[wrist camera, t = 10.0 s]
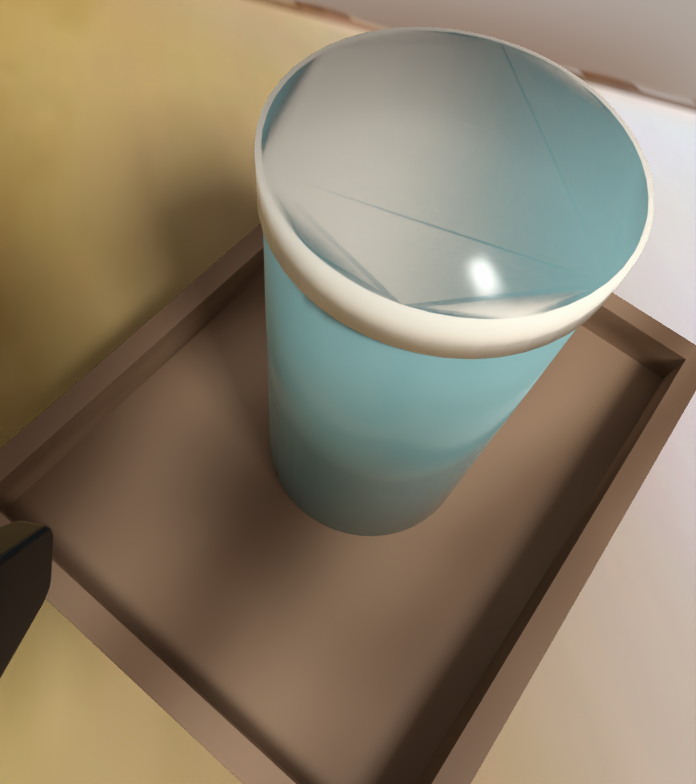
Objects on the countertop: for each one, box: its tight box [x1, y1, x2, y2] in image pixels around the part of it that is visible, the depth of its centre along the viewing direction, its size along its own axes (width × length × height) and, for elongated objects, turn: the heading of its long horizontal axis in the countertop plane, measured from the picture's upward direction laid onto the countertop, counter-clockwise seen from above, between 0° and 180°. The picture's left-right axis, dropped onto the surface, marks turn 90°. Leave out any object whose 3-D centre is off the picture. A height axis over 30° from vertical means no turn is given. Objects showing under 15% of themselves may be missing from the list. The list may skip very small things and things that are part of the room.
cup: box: [254, 27, 654, 536], centre depth 16 cm, size 7×7×12 cm
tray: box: [0, 224, 696, 784], centre depth 22 cm, size 16×20×2 cm
